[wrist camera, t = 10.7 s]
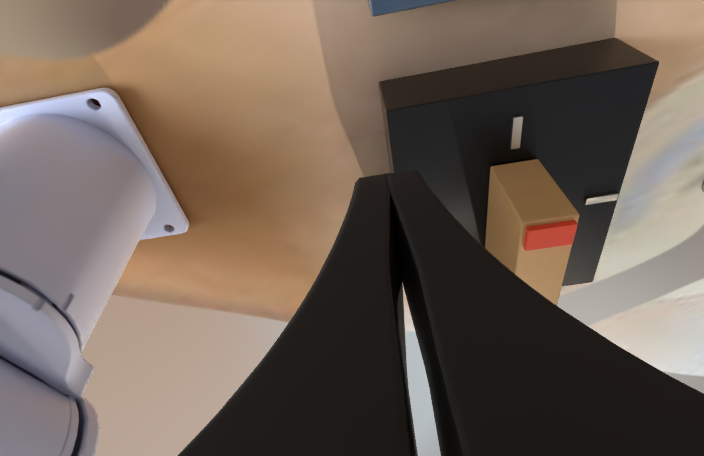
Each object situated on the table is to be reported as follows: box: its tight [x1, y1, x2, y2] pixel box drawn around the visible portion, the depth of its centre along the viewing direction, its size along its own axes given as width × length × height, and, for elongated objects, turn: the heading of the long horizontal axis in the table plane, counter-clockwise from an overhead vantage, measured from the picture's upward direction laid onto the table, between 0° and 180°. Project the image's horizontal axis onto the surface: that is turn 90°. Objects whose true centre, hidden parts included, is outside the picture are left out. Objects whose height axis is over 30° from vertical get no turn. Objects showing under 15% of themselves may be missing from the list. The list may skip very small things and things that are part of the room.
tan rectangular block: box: [485, 159, 579, 306], centre depth 18 cm, size 6×2×4 cm, turn 9°
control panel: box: [379, 38, 659, 286], centre depth 20 cm, size 10×12×3 cm
